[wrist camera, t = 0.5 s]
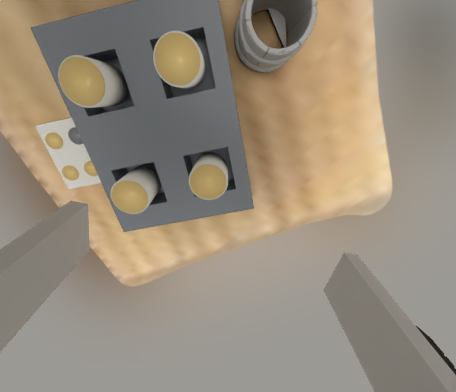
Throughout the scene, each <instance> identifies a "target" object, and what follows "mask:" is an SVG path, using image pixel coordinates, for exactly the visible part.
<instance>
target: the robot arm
mask: <svg viewBox="0 0 456 392" xmlns="http://www.w3.org/2000/svg"><path fill="white" fill-rule="evenodd" d="M88 251H89V223H88V204H85V203H80V202H74V201H70V202H69V203H67V204H66V205H64V206H63V207H61V208H60V209H58V210H57V211H56V212H54V213H53V214H51V215H50V216H48V217H47V218H46V219H44V220H42V221H41V222H40V223H38V224H37V225H35V226H34V227H32V228H31V229H29V230H28V231H26V232H25V233H24V234H22V235H21V236H19V237H18V238H16V239H15V240H13V241H12V242H11V243H9V244H8V245H6V246H5V247H3V248H2V249H1V250H0V352H1V351H2V349H3V348H4V347H5V346H6V345H7V344H8V342H9V341H10V340H11V339H12V338H13V337H14V336H15V335H16V333H17V332H18V331H19V330H20V329H21V328H22V326H23V325H24V324H25V323H26V322H27V321H28V320H29V319H30V317H31V316H32V315H33V314H34V313H35V312H36V310H37V309H38V308H39V307H40V306H41V305H42V304H43V302H44V301H45V300H46V299H47V298H48V297H49V296H50V294H51V293H52V292H53V291H54V290H55V289H56V288H57V287H58V285H59V284H60V283H61V282H62V281H63V280H64V279H65V277H66V276H67V275H68V274H69V273H70V272H71V271H72V270H73V268H74V267H75V266H76V265H77V264H78V263H79V261H80V260H81V259H82V258H83V257H84V256H85V255H86V254H87V252H88ZM324 291H325V293H326V295H327V297H328V299H329V301H330V303H331V305H332V307H333V309H334V311H335V313H336V315H337V317H338V319H339V321H340V323H341V325H342V327H343V329H344V331H345V333H346V335H347V337H348V339H349V341H350V343H351V345H352V347H353V349H354V351H355V353H356V355H357V357H358V359H359V361H360V363H361V365H362V367H363V369H364V371H365V373H366V375H367V377H368V379H369V381H370V383H371V385H372V387H373V389H374V391H375V392H456V369H455V368H454V365H453V364H452V363H451V362H450V361H449V359H448V358H447V357H445V356H444V353H443V352H442V351H441V350H440V348H438V346H437V345H436V344H435V343H434V341H433V340H432V339H431V338H430V337H429V336H427V335H426V334H425V333H424V332H423V331H422V330H421V329H420V328H418V327H417V326H415V325H414V324H413V322H412V321H411V320H410V319H409V317H408V316H407V315H406V314H405V313H404V311H403V310H402V309H401V308H400V306H399V305H398V304H397V303H396V302H395V300H394V299H393V298H392V297H391V295H390V294H389V293H388V292H387V291H386V289H385V288H384V287H383V286H382V285H381V283H380V282H379V281H378V280H377V279H376V277H375V276H374V275H373V273H372V272H371V271H370V270H369V269H368V267H367V266H366V265H365V264H364V262H363V261H362V260H361V259H360V258H359V257H358V255H355V254H350V253H344V254H343V255H342V257H341V259H340V261H339V263H338V265H337V266H336V268H335V270H334V272H333V274H332V276H331V277H330V279H329V281H328V283H327V285H326V287H325V288H324Z"/></svg>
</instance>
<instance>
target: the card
mask: <svg viewBox="0 0 456 392" xmlns="http://www.w3.org/2000/svg"><path fill="white" fill-rule="evenodd" d="M35 127H36V129H37V131H38V132H39V134H40V136H41V138H42V140H43V142H44V144H45V146H46V148H47V150H48V151H49V153H50V155H51V157H52V159H53V161H54V163H55V165H56V167H57V169H58V170H59V172H60V174H61V176H62V178H63V180H64V182H65V184H66V186H67V188H68V189H74V188H79V187H84V186H89V185H94V184H99V183H101V181H100V179H99V176H98V174H97V172H96V170H95V168H94V165H93V163H92V161H91V159H90V157H89V154H88V152H87V150H86V148H85V146H84V144H83V141H82V139H81V137H80V135H79V133H78V130H77V128H76V126H75V124H74V122H73V119H72V118H68V119H64V120H59V121H55V122H50V123H46V124H41V125H37V126H35Z"/></svg>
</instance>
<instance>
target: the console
mask: <svg viewBox="0 0 456 392" xmlns="http://www.w3.org/2000/svg"><path fill="white" fill-rule="evenodd" d="M31 30H32V32H33V34H34V36H35V38H36V41H37V43H38V45H39V47H40V49H41V52H42V54H43V56H44V58H45V60H46V63H47V65H48V67H49V69H50V71H51V73H52V76H53V78H54V80H55V82H56V84H57V87H58V89H59V91H60V93H61V95H62V98H63V100H64V102H65V104H66V106H67V109H68V111H69V113H70V115H71V117H72V119H73V122H74V124H75V126H76V128H77V130H78V133H79V135H80V137H81V139H82V141H83V144H84V146H85V148H86V150H87V152H88V154H89V157H90V159H91V161H92V163H93V165H94V168H95V170H96V172H97V174H98V176H99V179H100V181H101V183H102V185H103V187H104V189H105V192H106V194H107V196H108V198H109V200H110V203H111V205H112V207H113V209H114V211H115V214H116V216H117V218H118V220H119V222H120V225H121V227H122V229H123V231H124V232H126V231H132V230H137V229H143V228H148V227H154V226H159V225H165V224H170V223H176V222H181V221H187V220H192V219H198V218H203V217H209V216H215V215H220V214H226V213H231V212H237V211H242V210H248V209H253V208H254V206H253V200H252V194H251V188H250V183H249V177H248V171H247V165H246V159H245V154H244V148H243V142H242V136H241V130H240V125H239V119H238V113H237V107H236V101H235V95H234V90H233V84H232V78H231V72H230V66H229V61H228V55H227V49H226V43H225V37H224V32H223V26H222V20H221V14H220V8H219V3H218V0H135V1H131V2H128V3H124V4H120V5H116V6H112V7H108V8H104V9H101V10H97V11H93V12H89V13H85V14H81V15H77V16H73V17H70V18H66V19H62V20H58V21H54V22H50V23H46V24H43V25H39V26H35V27H31ZM170 31H181V32H184V33H186V34H188V35H190V36H191V37H192V38H193V39H194V40H195V41H196V43H197V44H198V46H199V48H200V50H201V52H202V54H203V55H204V58H205V61H206V74H205V77H204V79H203V81H202V82H201V83H200V84H199V85H198V86H197V87H195V88H192V89H184V88H179V87H174V86H171V85H169V84H168V83H166V82H165V81H164V80H163V79H162V78H161V77H160V76H159V74H158V73H157V71H156V68H155V66H154V60H153V52H154V47H155V45H156V43H157V41H158V40H159V38H160V37H161V36H162V35H164V34H165V33H167V32H170ZM72 55H82V56H85V57H88V58H92V59H95V60H99V61H102V62H106V63H109V64H112V65H113V66H115V67H116V68H117V69H118V70H119V71H120V72H121V73H122V74H123V76H124V78H125V80H126V84H127V93H126V97H125V99H124V100H123V101H122V102H121V103H120V104H118V105H116V106H108V107H95V108H85V107H81V106H79V105H77V104H75V103H73V102H72V101H71V100H70V99H69V98H68V97H67V96H66V95H65V94H64V92H63V90H62V88H61V86H60V83H59V78H58V71H59V67H60V65H61V63H62V61H63V60H64V59H66V58H67V57H69V56H72ZM206 153H215V154H218V155H220V156H221V157H222V158H223V159H224V160H225V161H226V163H227V166H228V187H227V189H226V191H225V193H224V194H223V195H222V196H220V197H219V198H216V199H213V200H205V199H202V198H199V197H198V196H196V195H195V194H194V193H193V192H192V190H191V189H190V186H189V175H190V173H191V171H192V169H193V166H194V164H195V162H196V160H197V159H198V158H199V157H200V156H202V155H203V154H206ZM137 167H145V168H149V169H151V170H152V171H154V172H155V173H156V174H157V176H158V177H159V180H160V190H159V192H158V193H157V195H156V196H155V197H154V199H153V200H152V202H151V203H150V204H149V206H148V207H147V208H146V209H145V210H144V211H143V212H141V213H138V214H129V213H125V212H123V211H121V210H120V209H118V208H117V207H116V206H115V204H114V203H113V201H112V199H111V188H112V186H113V185H114V184H115V183H116V182H117V181H118V180H120V179H121V178H122V177H123V176H125V175H126V174H127V173H129V172H130V171H131V170H133V169H134V168H137Z"/></svg>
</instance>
